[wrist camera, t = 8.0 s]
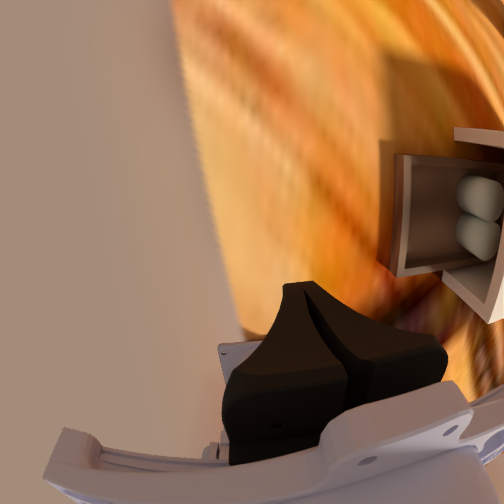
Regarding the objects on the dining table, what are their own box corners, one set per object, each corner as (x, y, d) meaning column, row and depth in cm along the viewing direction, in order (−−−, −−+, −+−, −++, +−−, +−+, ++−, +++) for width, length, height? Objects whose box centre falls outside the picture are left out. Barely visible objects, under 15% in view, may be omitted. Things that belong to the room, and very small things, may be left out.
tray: (485, 251, 23) (497, 259, 21) (385, 266, 24) (396, 277, 21) (494, 162, 20) (508, 165, 18) (390, 153, 20) (403, 155, 18)
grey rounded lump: (480, 207, 21) (504, 218, 17) (456, 214, 21) (481, 226, 18) (479, 171, 19) (504, 178, 16) (455, 176, 20) (481, 183, 16)
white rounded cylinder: (475, 245, 22) (496, 259, 19) (452, 247, 22) (474, 262, 19) (480, 211, 21) (504, 222, 17) (457, 211, 21) (481, 223, 17)
